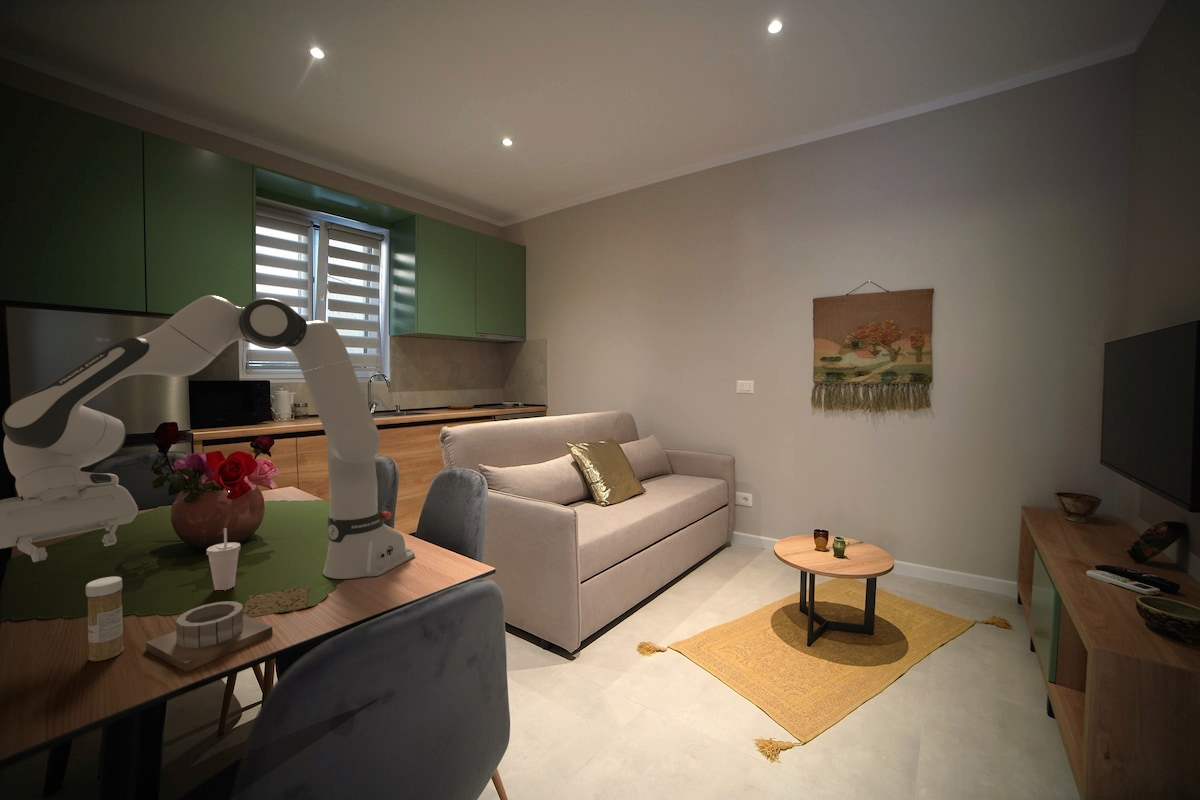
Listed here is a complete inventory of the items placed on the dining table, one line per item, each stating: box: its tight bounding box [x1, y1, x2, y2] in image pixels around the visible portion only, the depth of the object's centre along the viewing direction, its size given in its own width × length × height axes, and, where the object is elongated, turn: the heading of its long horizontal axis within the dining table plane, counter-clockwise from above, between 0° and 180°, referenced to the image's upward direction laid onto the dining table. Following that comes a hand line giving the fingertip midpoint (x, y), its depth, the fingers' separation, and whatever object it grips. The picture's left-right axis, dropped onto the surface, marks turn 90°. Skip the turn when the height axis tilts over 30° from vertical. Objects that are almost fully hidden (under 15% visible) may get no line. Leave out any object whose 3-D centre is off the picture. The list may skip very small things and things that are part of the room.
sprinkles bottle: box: [85, 576, 125, 662], centre depth 88 cm, size 5×5×13 cm
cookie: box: [243, 586, 310, 619], centre depth 110 cm, size 12×12×1 cm
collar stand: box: [145, 600, 274, 673], centre depth 93 cm, size 14×14×6 cm
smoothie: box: [205, 527, 241, 591], centre depth 116 cm, size 6×6×14 cm
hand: (77, 551), depth 93 cm, fingers open, 8 cm apart
